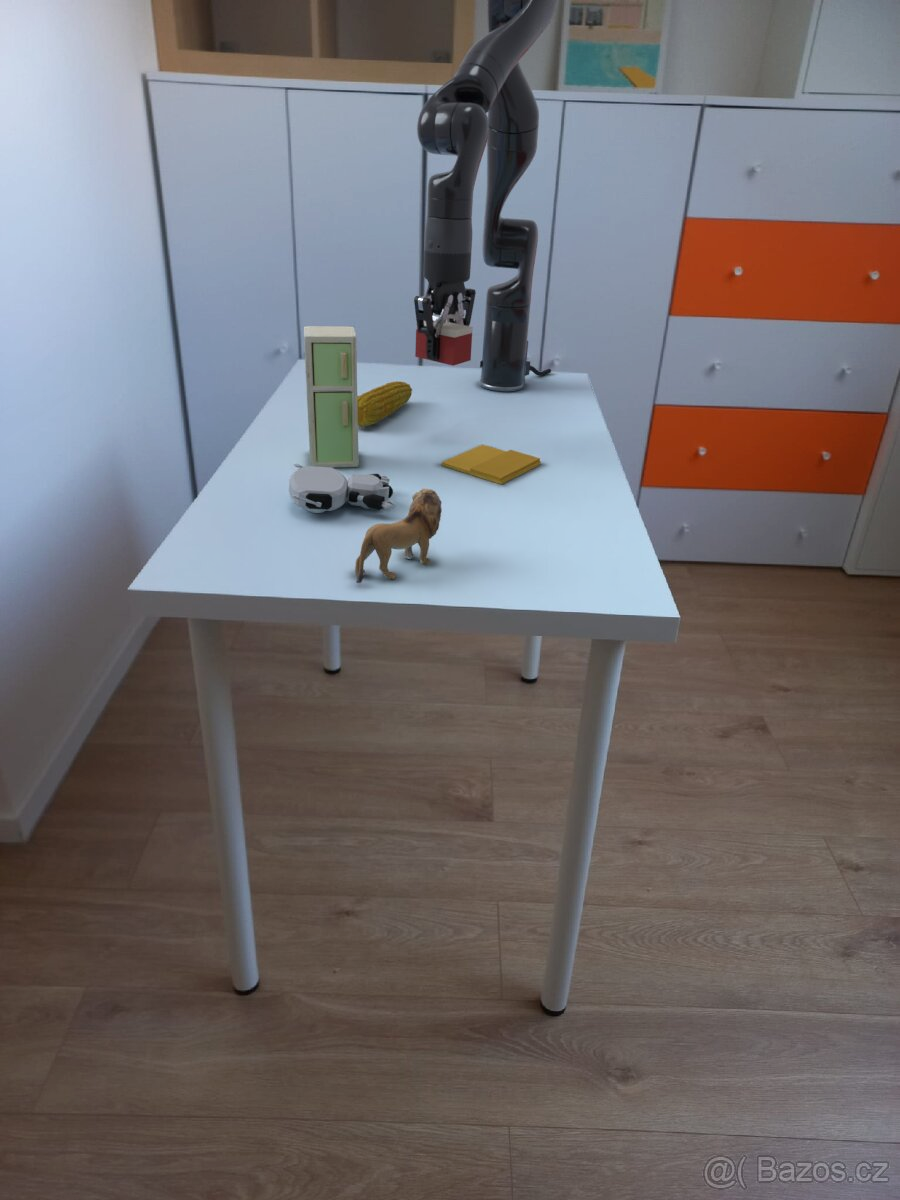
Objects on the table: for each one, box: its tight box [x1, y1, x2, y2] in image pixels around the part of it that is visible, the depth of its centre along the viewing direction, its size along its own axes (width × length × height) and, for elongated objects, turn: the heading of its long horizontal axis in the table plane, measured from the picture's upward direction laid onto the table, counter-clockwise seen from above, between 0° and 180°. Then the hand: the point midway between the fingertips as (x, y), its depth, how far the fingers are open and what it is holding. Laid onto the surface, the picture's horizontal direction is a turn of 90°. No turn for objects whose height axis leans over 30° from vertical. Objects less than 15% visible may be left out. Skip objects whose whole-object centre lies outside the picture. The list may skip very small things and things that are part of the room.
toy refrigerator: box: [303, 325, 360, 469], centre depth 131 cm, size 8×7×21 cm
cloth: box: [441, 444, 542, 485], centre depth 138 cm, size 12×12×1 cm
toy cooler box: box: [414, 320, 473, 367], centre depth 139 cm, size 8×5×6 cm, turn 53°
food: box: [357, 380, 413, 428], centre depth 157 cm, size 21×6×6 cm, turn 159°
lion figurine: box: [354, 488, 443, 584], centre depth 104 cm, size 15×5×9 cm, turn 142°
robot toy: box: [288, 463, 395, 514], centre depth 121 cm, size 12×4×15 cm
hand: (443, 355), depth 140 cm, fingers closed on toy cooler box, 5 cm apart
